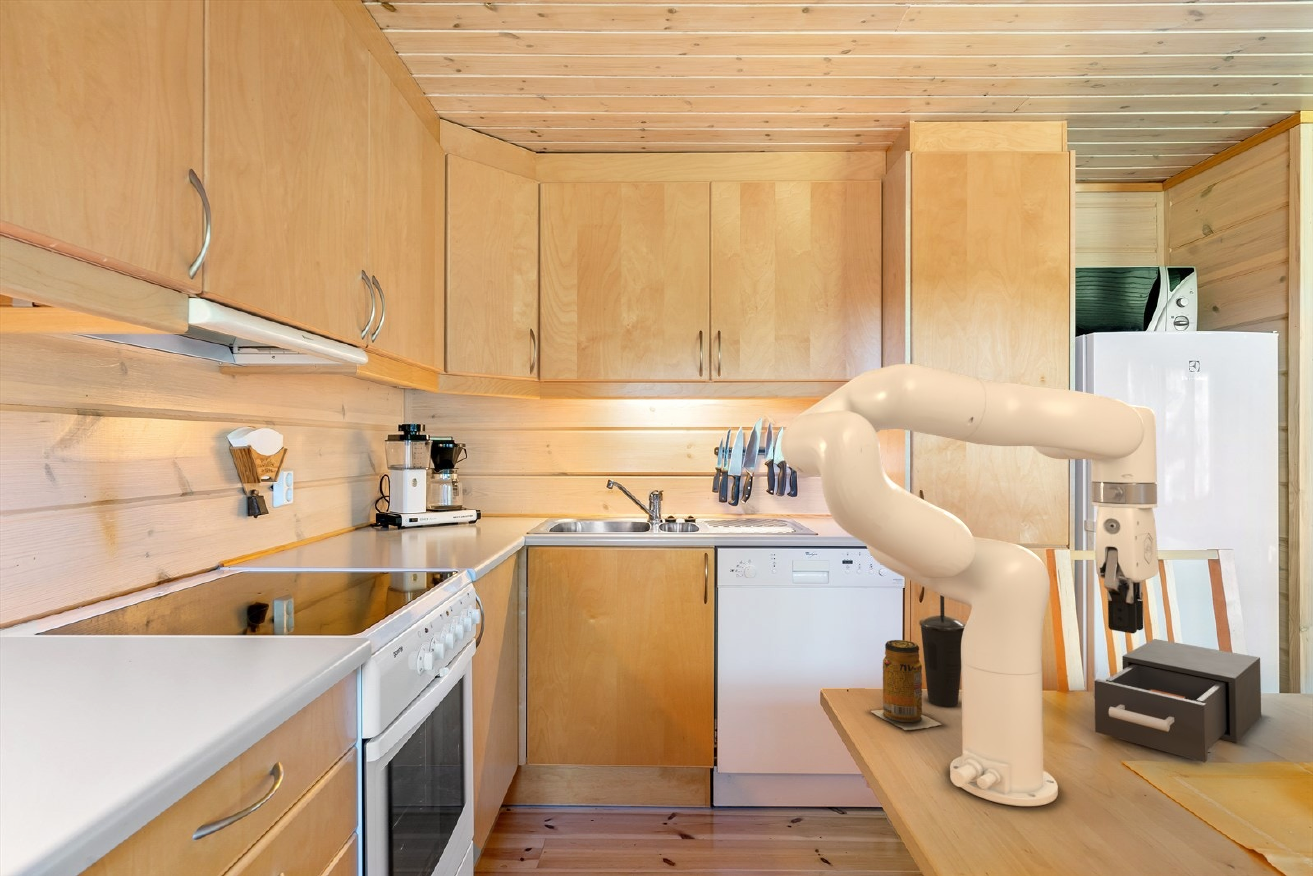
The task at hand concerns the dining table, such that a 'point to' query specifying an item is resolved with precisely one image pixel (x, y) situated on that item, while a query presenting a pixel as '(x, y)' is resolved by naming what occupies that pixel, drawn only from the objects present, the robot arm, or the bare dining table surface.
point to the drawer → (1162, 710)
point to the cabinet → (1211, 677)
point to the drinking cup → (942, 657)
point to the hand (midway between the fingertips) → (1125, 628)
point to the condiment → (903, 687)
